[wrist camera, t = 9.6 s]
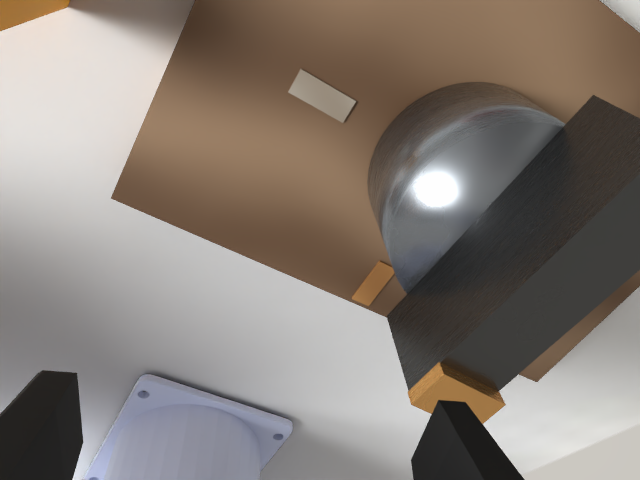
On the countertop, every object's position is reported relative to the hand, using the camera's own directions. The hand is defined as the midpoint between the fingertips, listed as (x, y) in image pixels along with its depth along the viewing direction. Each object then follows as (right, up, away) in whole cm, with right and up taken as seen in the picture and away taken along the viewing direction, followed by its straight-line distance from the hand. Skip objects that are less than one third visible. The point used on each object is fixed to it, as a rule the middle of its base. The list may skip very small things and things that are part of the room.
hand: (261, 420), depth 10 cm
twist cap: (+6, +6, +7) cm, 11 cm away
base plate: (+6, +7, +9) cm, 12 cm away
